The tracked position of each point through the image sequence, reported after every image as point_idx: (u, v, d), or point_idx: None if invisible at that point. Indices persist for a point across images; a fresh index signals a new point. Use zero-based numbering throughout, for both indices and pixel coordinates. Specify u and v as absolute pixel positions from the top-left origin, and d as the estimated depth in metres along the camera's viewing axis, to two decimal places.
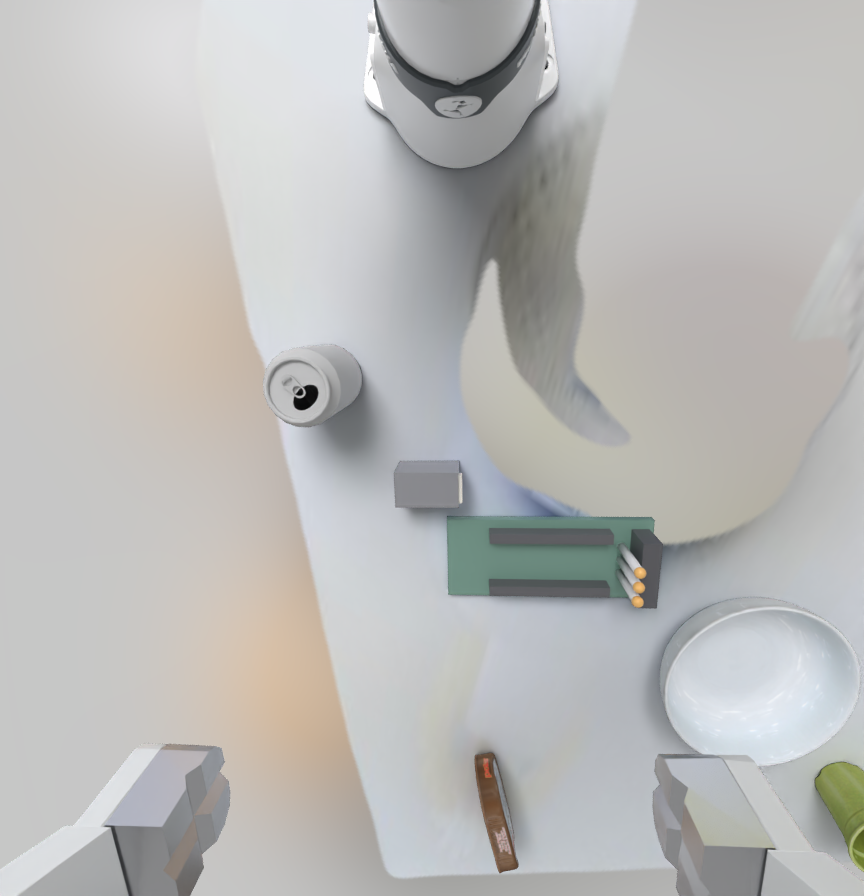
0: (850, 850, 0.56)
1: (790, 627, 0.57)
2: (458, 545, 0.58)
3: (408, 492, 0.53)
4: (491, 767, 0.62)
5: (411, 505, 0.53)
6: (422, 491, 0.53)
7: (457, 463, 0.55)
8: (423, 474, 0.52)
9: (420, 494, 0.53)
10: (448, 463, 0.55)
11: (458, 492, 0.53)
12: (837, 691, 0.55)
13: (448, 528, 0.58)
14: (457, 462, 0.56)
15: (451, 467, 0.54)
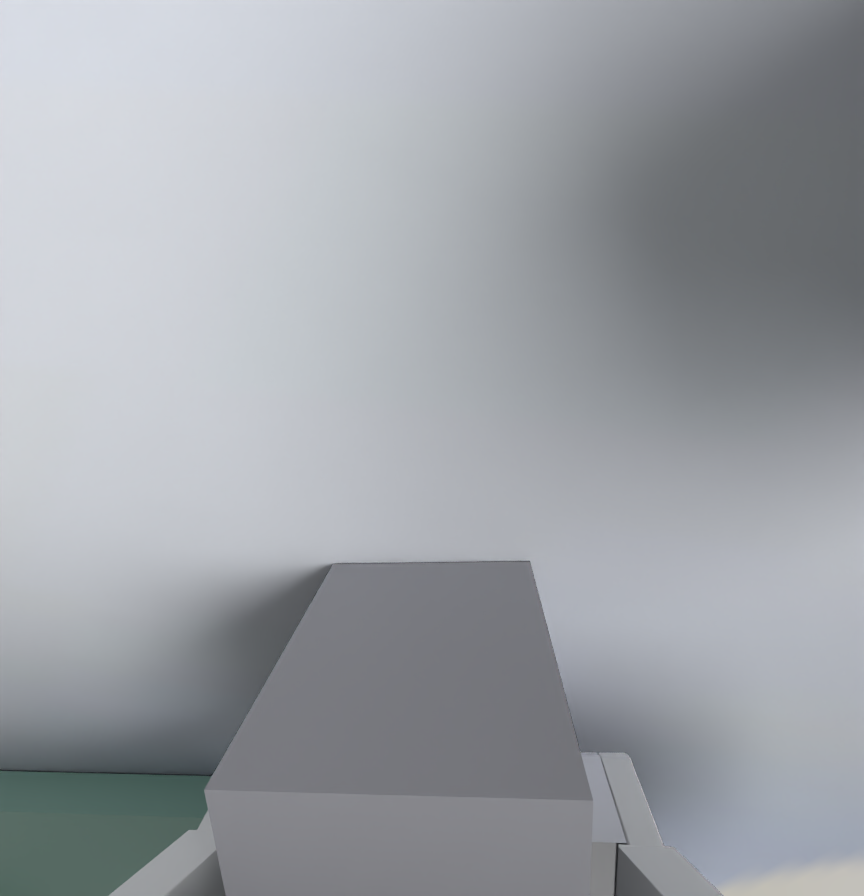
0: None
1: None
2: (80, 859, 0.11)
3: None
4: None
5: None
6: None
7: None
8: None
9: None
10: None
11: None
12: None
13: (161, 822, 0.11)
14: None
15: None
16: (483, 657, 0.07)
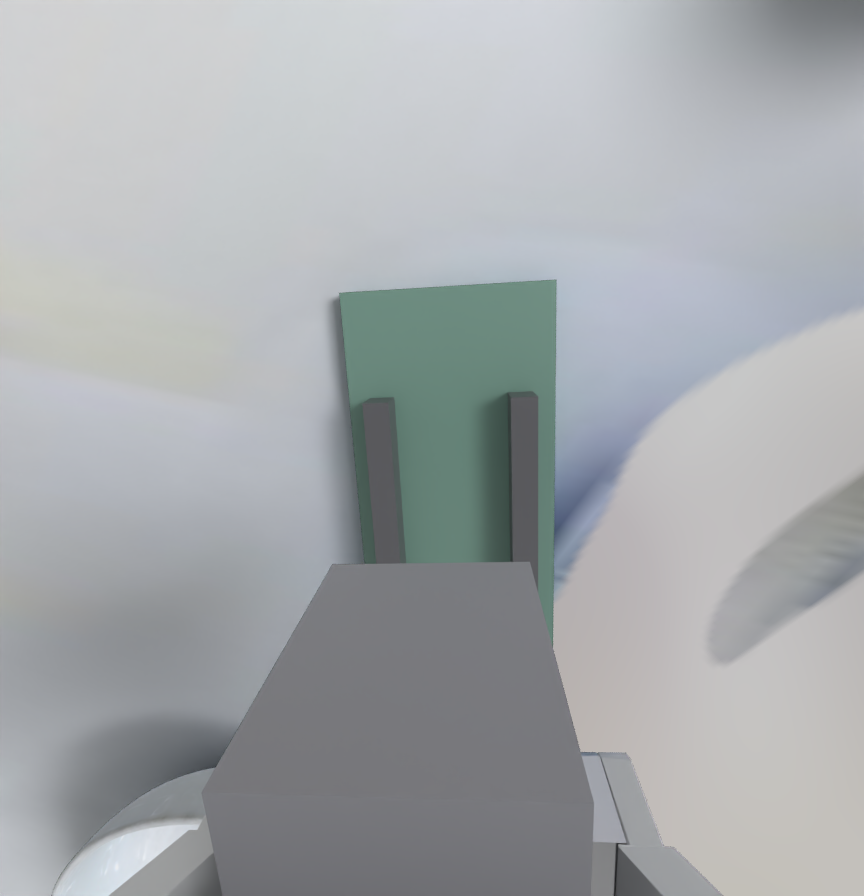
0: None
1: None
2: (482, 314, 0.22)
3: None
4: None
5: None
6: None
7: None
8: None
9: None
10: None
11: None
12: None
13: (530, 284, 0.22)
14: None
15: None
16: (482, 658, 0.07)
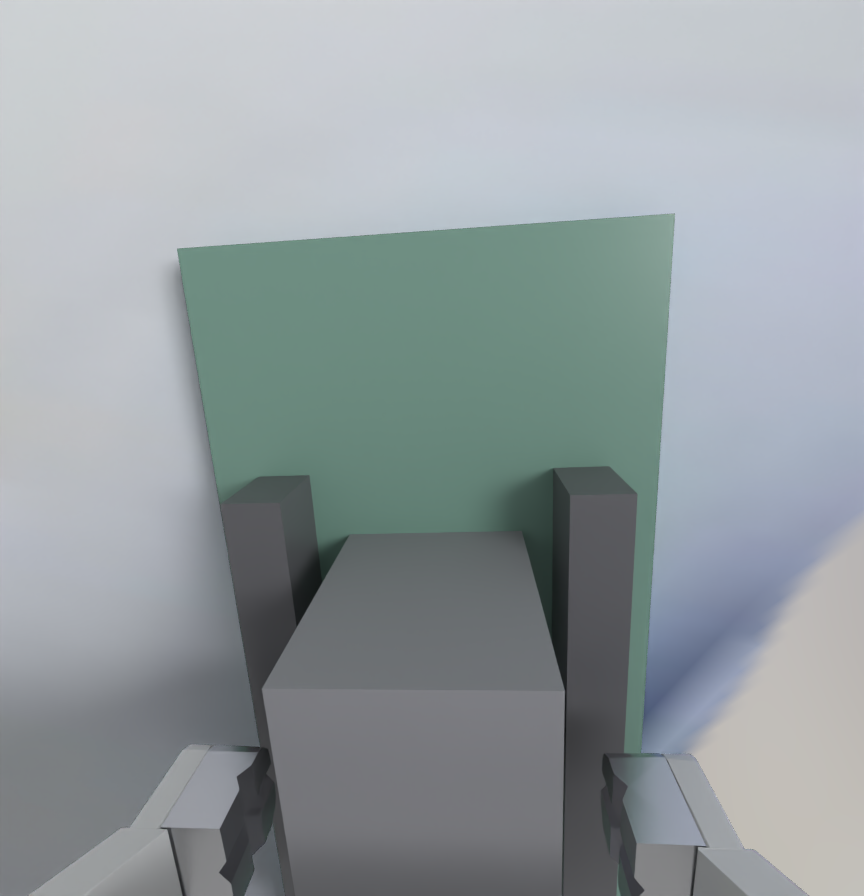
0: None
1: None
2: (499, 297, 0.10)
3: (396, 785, 0.07)
4: None
5: (295, 795, 0.07)
6: (416, 865, 0.07)
7: None
8: (548, 882, 0.07)
9: (386, 851, 0.07)
10: None
11: None
12: None
13: (613, 226, 0.09)
14: None
15: None
16: (480, 601, 0.08)
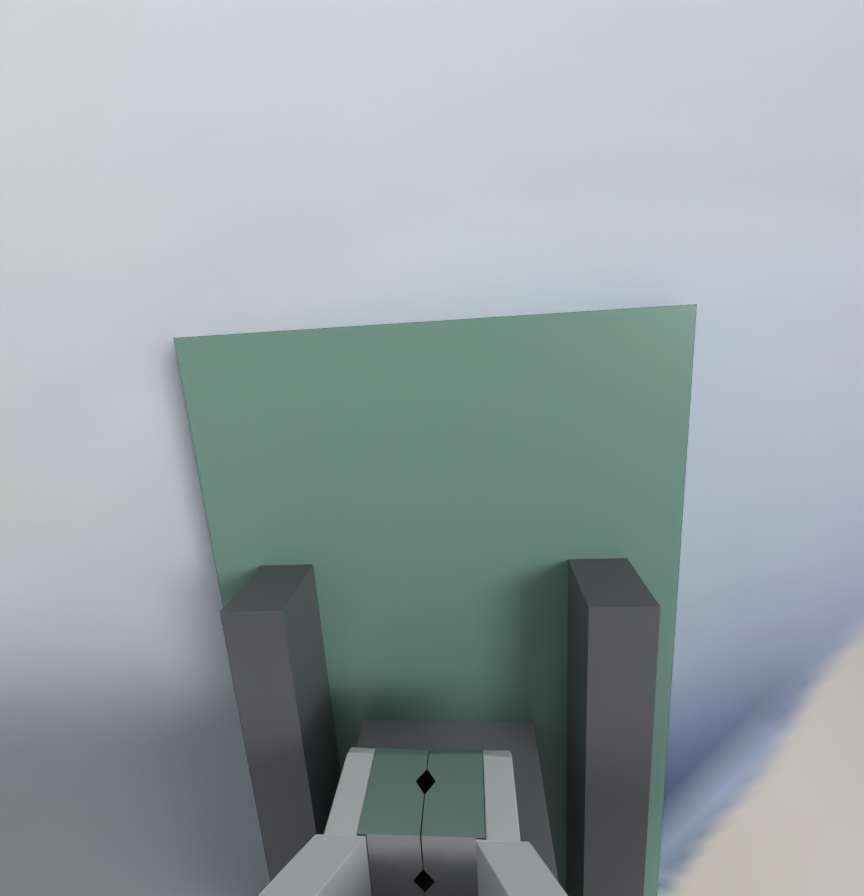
0: None
1: None
2: (511, 387, 0.09)
3: None
4: None
5: None
6: None
7: None
8: None
9: None
10: None
11: None
12: None
13: (631, 317, 0.09)
14: None
15: None
16: None
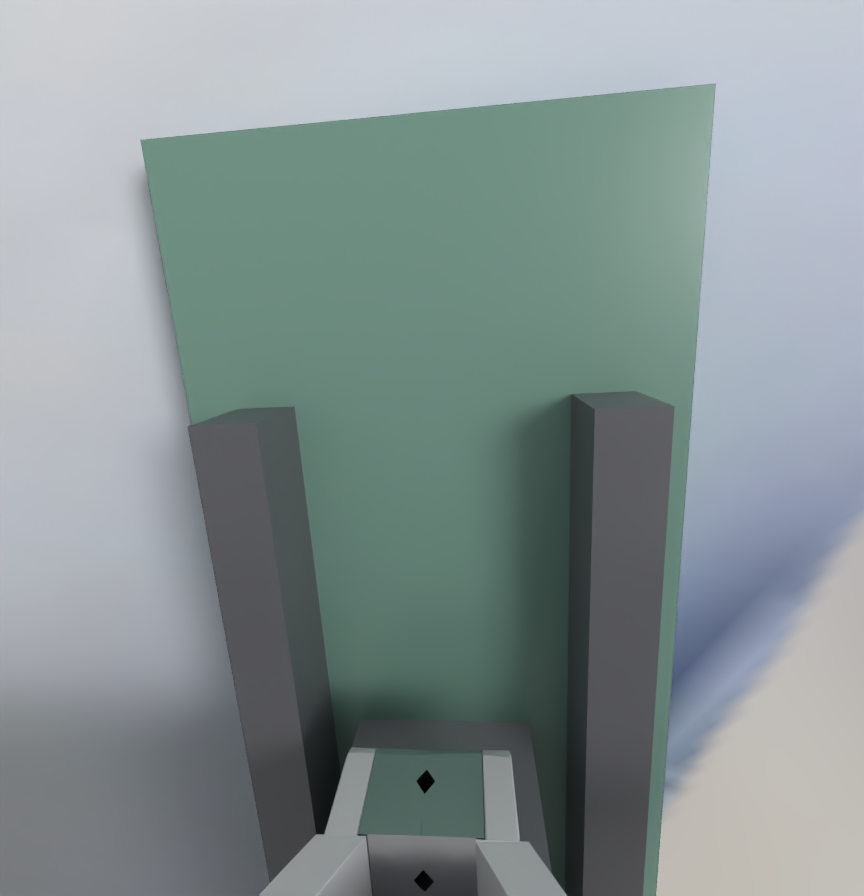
0: None
1: None
2: (510, 190, 0.08)
3: None
4: None
5: None
6: None
7: None
8: None
9: None
10: None
11: None
12: None
13: (642, 101, 0.08)
14: None
15: None
16: None
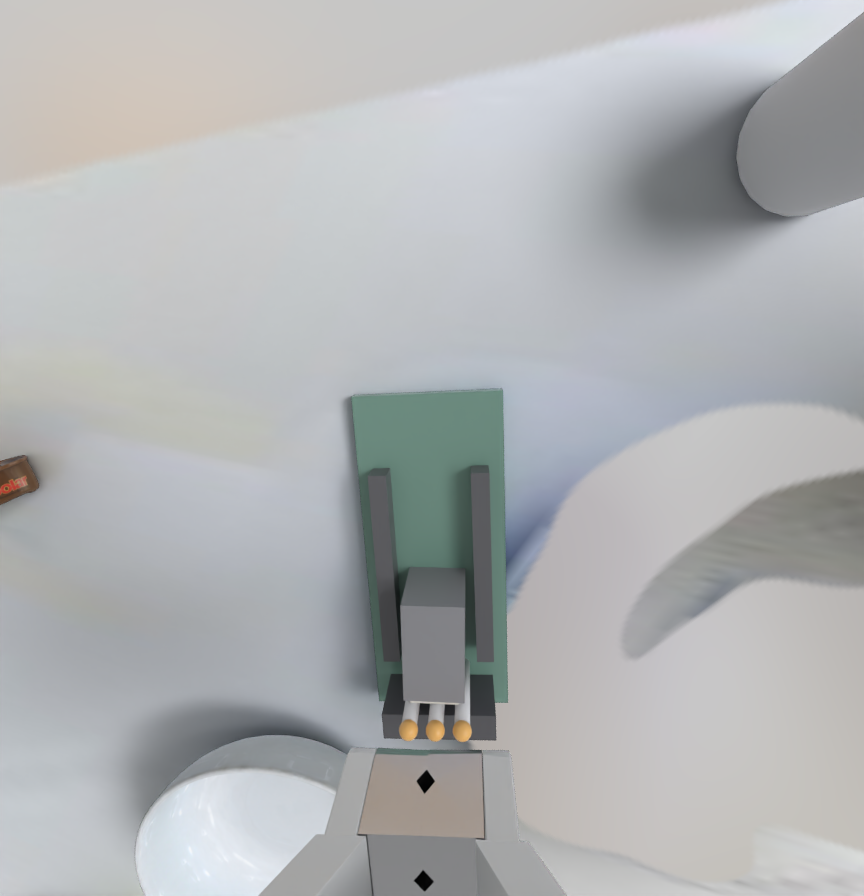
0: None
1: None
2: (451, 412, 0.32)
3: (428, 628, 0.30)
4: (11, 497, 0.32)
5: (405, 631, 0.30)
6: (431, 649, 0.30)
7: None
8: (461, 653, 0.30)
9: (424, 645, 0.30)
10: None
11: (429, 699, 0.32)
12: None
13: (485, 393, 0.31)
14: None
15: None
16: (449, 589, 0.32)
